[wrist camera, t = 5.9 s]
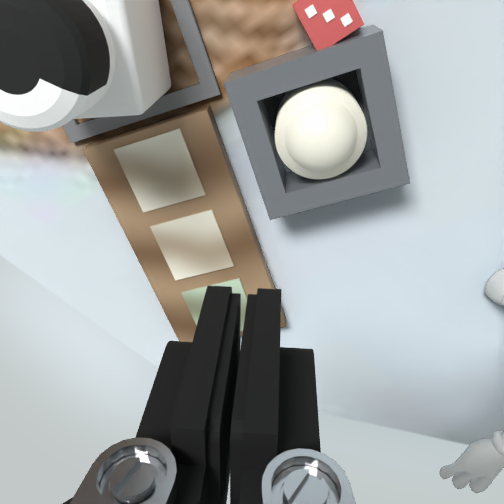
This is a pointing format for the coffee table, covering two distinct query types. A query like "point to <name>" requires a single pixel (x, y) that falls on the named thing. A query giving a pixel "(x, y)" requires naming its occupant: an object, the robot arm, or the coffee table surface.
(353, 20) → the red die
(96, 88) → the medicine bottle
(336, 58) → the dome housing
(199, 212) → the board
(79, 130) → the frame
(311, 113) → the dome
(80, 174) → the coffee table surface
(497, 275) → the cartoon character
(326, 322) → the coffee table surface
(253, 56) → the coffee table surface
